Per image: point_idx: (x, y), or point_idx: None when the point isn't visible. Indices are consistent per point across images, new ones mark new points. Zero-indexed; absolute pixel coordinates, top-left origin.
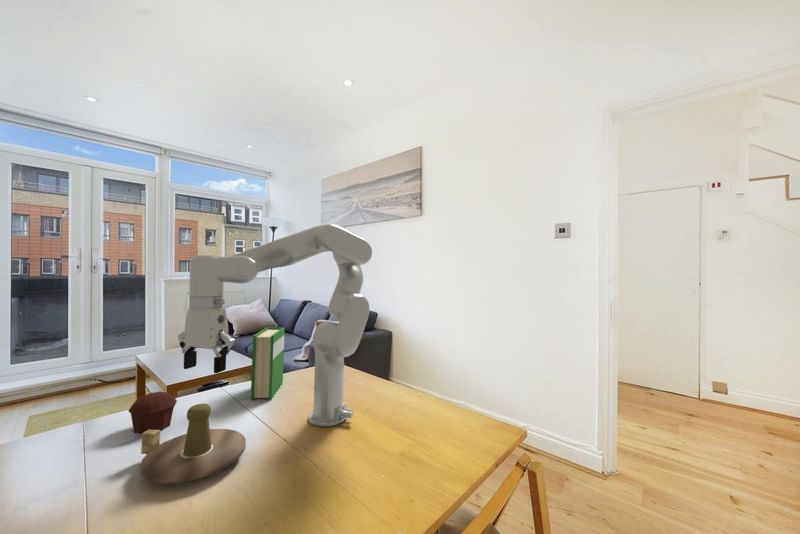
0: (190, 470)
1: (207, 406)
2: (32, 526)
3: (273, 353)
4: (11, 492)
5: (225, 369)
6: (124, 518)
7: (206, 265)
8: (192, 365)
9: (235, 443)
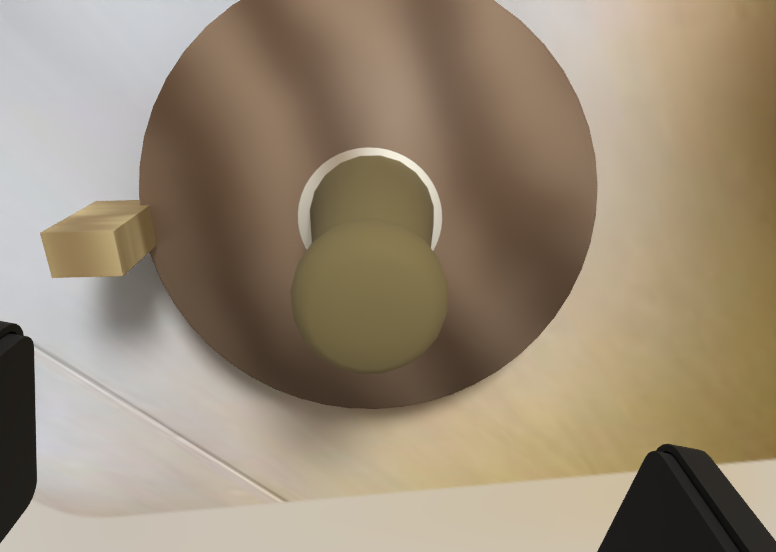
0: (447, 357)
1: (430, 308)
2: (139, 512)
3: None
4: None
5: (696, 449)
6: (355, 470)
7: None
8: (21, 419)
9: (533, 135)
